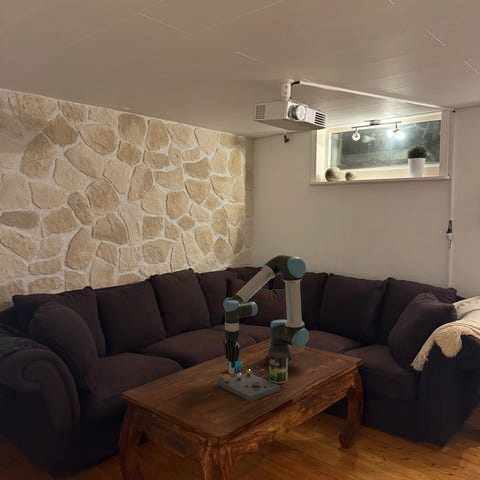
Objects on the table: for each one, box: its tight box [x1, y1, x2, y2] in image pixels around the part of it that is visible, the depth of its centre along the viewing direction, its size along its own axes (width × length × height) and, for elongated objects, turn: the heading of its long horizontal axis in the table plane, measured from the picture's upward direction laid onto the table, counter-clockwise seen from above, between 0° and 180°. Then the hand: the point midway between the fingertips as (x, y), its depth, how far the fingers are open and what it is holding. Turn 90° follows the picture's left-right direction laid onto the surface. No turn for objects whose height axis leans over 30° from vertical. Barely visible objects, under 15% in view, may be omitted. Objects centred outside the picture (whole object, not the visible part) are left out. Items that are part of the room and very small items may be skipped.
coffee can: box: [268, 351, 289, 384], centre depth 241 cm, size 10×10×14 cm
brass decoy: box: [245, 368, 253, 375], centre depth 241 cm, size 3×3×3 cm
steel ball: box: [235, 372, 243, 379], centre depth 235 cm, size 3×3×3 cm
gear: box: [225, 358, 244, 373], centre depth 257 cm, size 11×6×10 cm
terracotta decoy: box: [222, 373, 232, 382], centre depth 231 cm, size 4×4×4 cm
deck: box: [219, 373, 281, 402], centre depth 229 cm, size 24×20×2 cm
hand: (231, 372), depth 240 cm, fingers closed
